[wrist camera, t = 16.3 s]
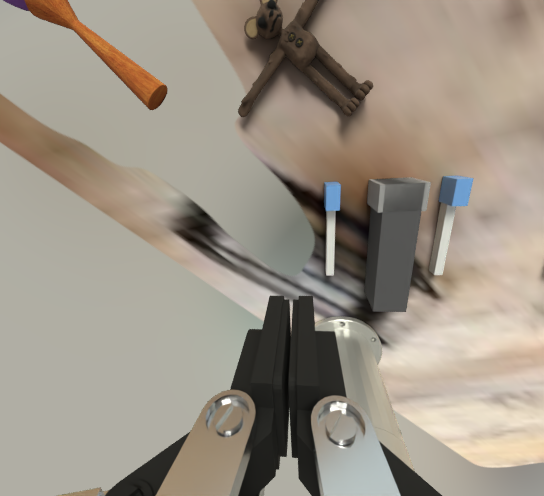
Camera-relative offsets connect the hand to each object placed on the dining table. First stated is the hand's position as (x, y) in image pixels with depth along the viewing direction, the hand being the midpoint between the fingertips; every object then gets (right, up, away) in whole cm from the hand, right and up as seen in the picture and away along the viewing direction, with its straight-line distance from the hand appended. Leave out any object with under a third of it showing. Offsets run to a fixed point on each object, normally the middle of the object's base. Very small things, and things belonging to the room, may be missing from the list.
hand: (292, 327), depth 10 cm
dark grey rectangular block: (+14, +4, +24) cm, 28 cm away
